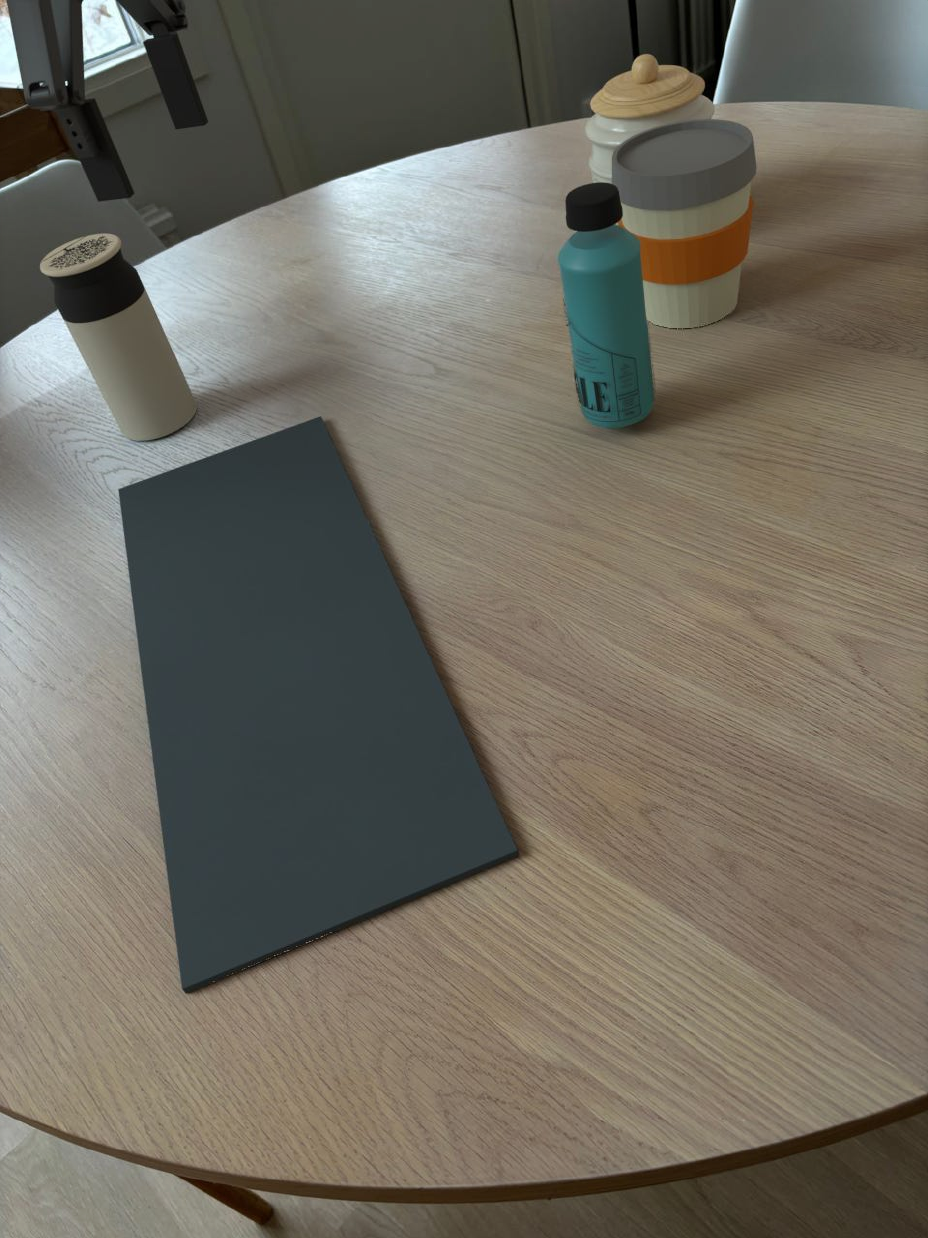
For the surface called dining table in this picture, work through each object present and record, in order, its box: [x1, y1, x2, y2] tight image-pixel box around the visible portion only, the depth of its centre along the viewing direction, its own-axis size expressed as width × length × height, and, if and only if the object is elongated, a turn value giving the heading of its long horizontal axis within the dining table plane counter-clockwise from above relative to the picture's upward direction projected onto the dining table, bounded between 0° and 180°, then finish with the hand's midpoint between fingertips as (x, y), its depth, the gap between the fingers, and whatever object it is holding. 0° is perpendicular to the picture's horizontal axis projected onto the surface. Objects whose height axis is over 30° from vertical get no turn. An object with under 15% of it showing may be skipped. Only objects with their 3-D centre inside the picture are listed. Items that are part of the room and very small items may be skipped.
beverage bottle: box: [557, 182, 657, 429], centre depth 80 cm, size 6×7×20 cm
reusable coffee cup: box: [612, 118, 758, 330], centre depth 93 cm, size 13×13×15 cm
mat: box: [117, 416, 520, 994], centre depth 76 cm, size 20×53×1 cm, turn 19°
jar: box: [584, 53, 716, 225], centre depth 105 cm, size 13×13×18 cm
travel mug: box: [39, 233, 198, 441], centre depth 97 cm, size 8×8×18 cm
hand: (156, 159), depth 78 cm, fingers open, 13 cm apart
